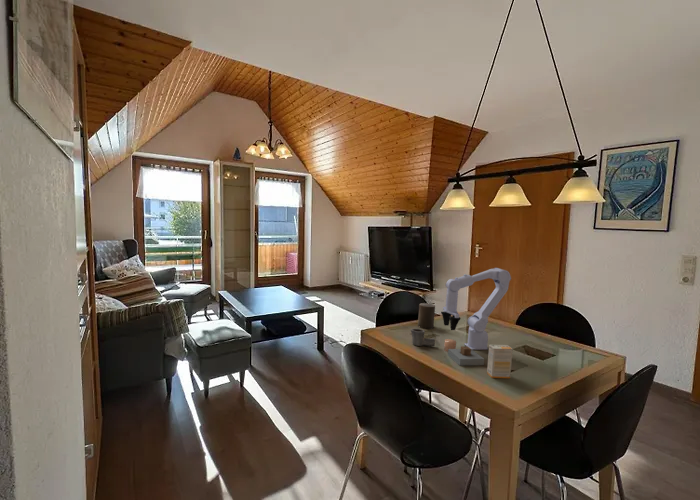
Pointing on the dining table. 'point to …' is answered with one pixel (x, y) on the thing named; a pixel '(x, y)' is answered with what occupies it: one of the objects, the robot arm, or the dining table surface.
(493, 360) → the supplement box
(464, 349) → the square peg
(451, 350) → the block
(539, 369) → the dining table surface
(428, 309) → the pillar candle
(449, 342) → the peach egg-shaped blob
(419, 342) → the pipe
